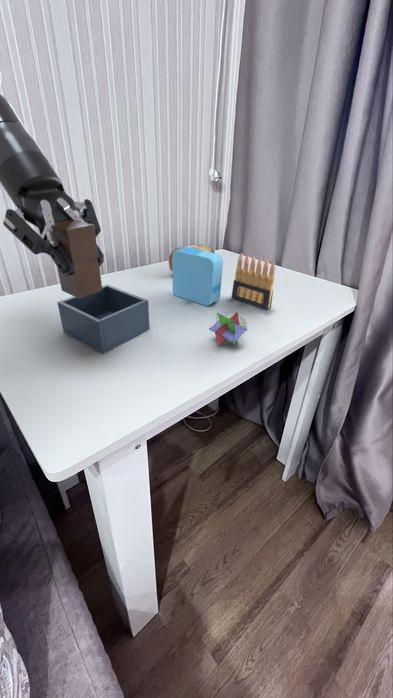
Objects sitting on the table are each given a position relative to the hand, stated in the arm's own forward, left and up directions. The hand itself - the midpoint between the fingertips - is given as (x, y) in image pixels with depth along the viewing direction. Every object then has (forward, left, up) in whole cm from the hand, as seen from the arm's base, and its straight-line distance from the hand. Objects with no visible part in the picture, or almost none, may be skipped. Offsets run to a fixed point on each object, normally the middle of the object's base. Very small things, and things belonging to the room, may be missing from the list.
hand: (86, 268), depth 49 cm
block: (-1, +2, -4) cm, 4 cm away
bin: (+7, +12, -18) cm, 23 cm away
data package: (+33, +15, -18) cm, 40 cm away
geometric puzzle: (+24, -6, -18) cm, 31 cm away
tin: (+43, +30, -19) cm, 55 cm away
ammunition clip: (+43, +5, -19) cm, 47 cm away
